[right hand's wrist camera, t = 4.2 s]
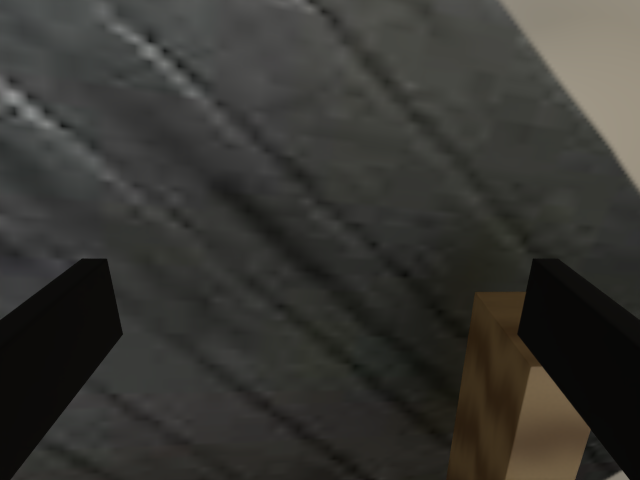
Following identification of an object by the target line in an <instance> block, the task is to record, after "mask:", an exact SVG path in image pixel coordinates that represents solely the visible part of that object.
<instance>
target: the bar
mask: <svg viewBox="0 0 640 480" xmlns="http://www.w3.org/2000/svg"><path fill="white" fill-rule="evenodd" d="M525 295H526V292H475V297H474V304H473V310H472V317H471V323H470V330H469V336H468V342H467V349H466V355H465V362H464V368H463V375H462V381H461V388H460V394H459V401H458V407H457V414H456V420H455V427H454V433H453V440H452V446H451V453H450V459H449V466H448V472H447V479H446V480H575V478H576V474H577V471H578V468H579V465H580V462H581V459H582V455H583V452H584V449H585V446H586V443H587V439H588V436H589V433H590V430H591V429H590V428H589V426H588V425H587V424H586V423H585V421H584V420H583V419H582V417H581V416H580V415H579V414H578V412H577V411H576V410H575V408H574V407H573V406H572V405H571V403H570V402H569V401H568V399H567V398H566V397H565V395H564V394H563V393H562V392H561V390H560V389H559V388H558V386H557V385H556V384H555V383H554V381H553V380H552V379H551V377H550V376H549V375H548V374H547V372H546V371H545V370H544V368H543V367H542V366H541V364H540V363H539V362H538V361H537V359H536V358H535V357H534V355H533V354H532V353H531V352H530V350H529V349H528V348H527V346H526V345H525V344H524V343H523V341H522V340H521V339H520V337H519V336H518V335H517V332H518V328H519V323H520V318H521V313H522V309H523V304H524V299H525Z"/></svg>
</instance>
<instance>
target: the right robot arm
mask: <svg viewBox="0 0 640 480" xmlns="http://www.w3.org/2000/svg"><path fill="white" fill-rule="evenodd" d="M122 335H123V332H122V328H121V323H120V318H119V313H118V309H117V304H116V299H115V295H114V290H113V285H112V280H111V276H110V271H109V266H108V261H107V259H81V260H80V261H78V262H77V263H76V264H74V265H73V266H72V267H70V268H69V269H68V270H66V271H65V272H64V273H62V274H61V275H60V276H58V277H57V278H56V279H54V280H53V281H52V282H50V283H49V284H48V285H46V286H45V287H44V288H42V289H41V290H40V291H38V292H37V293H36V294H34V295H33V296H32V297H30V298H29V299H28V300H26V301H25V302H24V303H22V304H21V305H20V306H18V307H17V308H16V309H14V310H13V311H12V312H10V313H9V314H8V315H6V316H5V317H4V318H2V319H1V320H0V480H10V479H11V478H12V477H13V476H14V474H15V473H16V472H17V470H18V469H19V468H20V467H21V465H22V464H23V463H24V461H25V460H26V459H27V457H28V456H29V455H30V454H31V452H32V451H33V450H34V448H35V447H36V446H37V445H38V443H39V442H40V441H41V439H42V438H43V437H44V436H45V434H46V433H47V432H48V430H49V429H50V428H51V426H52V425H53V424H54V423H55V421H56V420H57V419H58V417H59V416H60V415H61V414H62V412H63V411H64V410H65V408H66V407H67V406H68V405H69V403H70V402H71V401H72V399H73V398H74V397H75V395H76V394H77V393H78V392H79V390H80V389H81V388H82V386H83V385H84V384H85V383H86V381H87V380H88V379H89V377H90V376H91V375H92V374H93V372H94V371H95V370H96V368H97V367H98V366H99V364H100V363H101V362H102V361H103V359H104V358H105V357H106V355H107V354H108V353H109V352H110V350H111V349H112V348H113V346H114V345H115V344H116V343H117V341H118V340H119V339H120V337H121V336H122ZM517 335H518V336H519V337H520V339H521V340H522V341H523V343H524V344H525V345H526V346H527V348H528V349H529V350H530V352H531V353H532V354H533V355H534V357H535V358H536V359H537V361H538V362H539V363H540V364H541V366H542V367H543V368H544V370H545V371H546V372H547V374H548V375H549V376H550V377H551V379H552V380H553V381H554V383H555V384H556V385H557V386H558V388H559V389H560V390H561V392H562V393H563V394H564V395H565V397H566V398H567V399H568V401H569V402H570V403H571V405H572V406H573V407H574V408H575V410H576V411H577V412H578V414H579V415H580V416H581V417H582V419H583V420H584V421H585V423H586V424H587V425H588V426H589V428H590V429H591V430H592V432H593V433H594V434H595V436H596V437H597V438H598V439H599V441H600V442H601V443H602V445H603V446H604V447H605V448H606V450H607V451H608V452H609V454H610V455H611V456H612V457H613V459H614V460H615V461H616V463H617V464H618V465H619V467H620V468H621V469H622V470H623V472H624V473H625V474H626V476H627V477H628V478H629V479H630V480H640V320H639V319H638V318H636V317H635V316H634V315H632V314H631V313H630V312H628V311H627V310H626V309H624V308H623V307H622V306H620V305H619V304H618V303H616V302H615V301H614V300H612V299H611V298H610V297H608V296H607V295H606V294H604V293H603V292H602V291H600V290H599V289H598V288H596V287H595V286H594V285H592V284H591V283H590V282H588V281H587V280H586V279H584V278H583V277H582V276H580V275H579V274H578V273H576V272H575V271H574V270H572V269H571V268H570V267H568V266H567V265H566V264H564V263H563V262H562V261H560V260H559V259H533V261H532V266H531V271H530V276H529V280H528V285H527V290H526V295H525V299H524V304H523V309H522V313H521V318H520V323H519V328H518V332H517Z"/></svg>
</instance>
